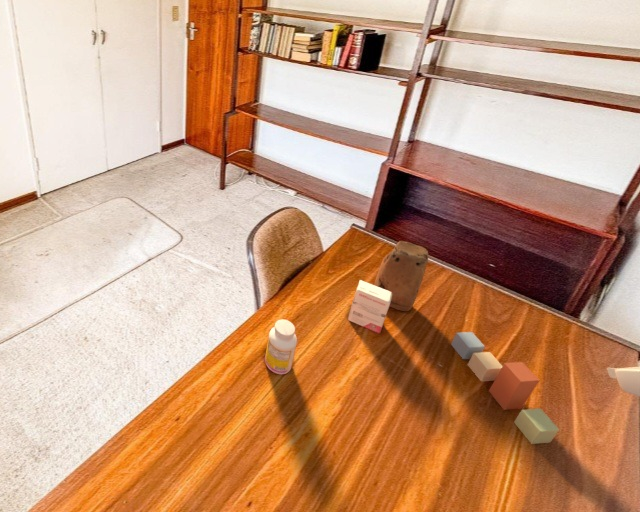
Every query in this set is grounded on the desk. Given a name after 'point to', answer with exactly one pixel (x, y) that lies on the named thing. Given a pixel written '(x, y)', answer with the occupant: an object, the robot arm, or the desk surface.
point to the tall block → (513, 385)
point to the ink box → (370, 306)
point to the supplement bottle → (281, 347)
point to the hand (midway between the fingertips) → (633, 370)
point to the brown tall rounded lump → (402, 274)
